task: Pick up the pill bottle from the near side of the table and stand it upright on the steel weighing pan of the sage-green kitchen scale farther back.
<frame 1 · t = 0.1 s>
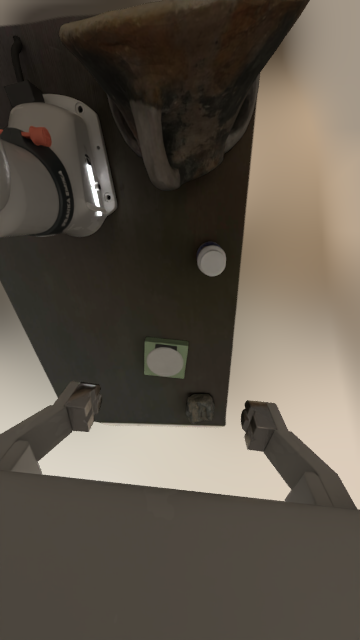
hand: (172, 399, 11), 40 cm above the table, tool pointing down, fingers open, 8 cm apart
scale: (166, 355, 59), on the table
bowl: (188, 165, 34), point 5 cm above the table
pill bottle: (209, 254, 45), on the table
rock: (198, 402, 68), on the table
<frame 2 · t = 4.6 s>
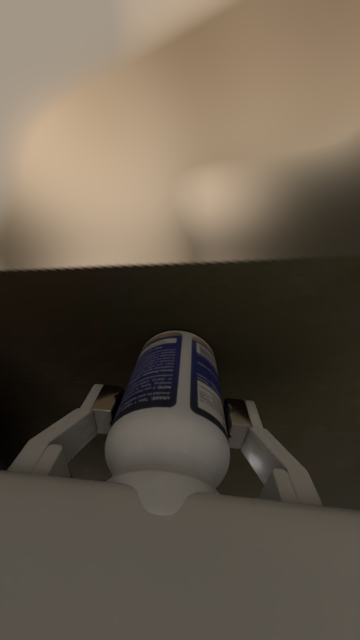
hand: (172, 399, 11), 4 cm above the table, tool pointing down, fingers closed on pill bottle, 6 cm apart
pill bottle: (178, 358, 16), on the table, touching gripper
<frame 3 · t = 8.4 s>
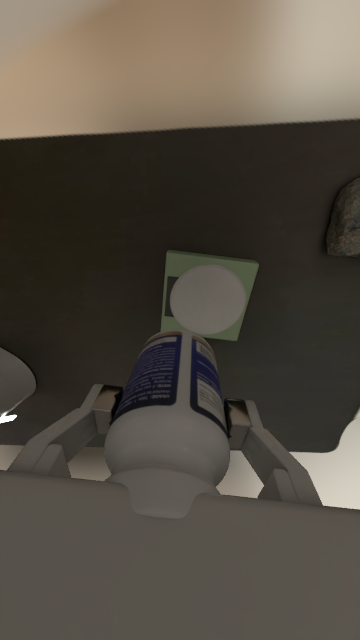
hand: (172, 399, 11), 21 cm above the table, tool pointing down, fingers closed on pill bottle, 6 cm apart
scale: (204, 295, 30), on the table
pill bottle: (178, 357, 15), point 16 cm above the table, touching gripper
when the fingers open (7 cm above the table, at t = 12.2 s): pill bottle stays where it is, resting on scale.
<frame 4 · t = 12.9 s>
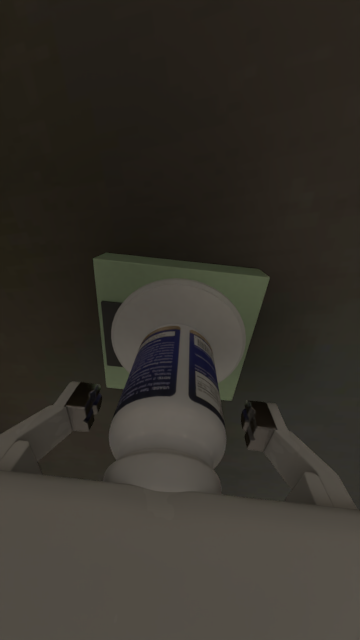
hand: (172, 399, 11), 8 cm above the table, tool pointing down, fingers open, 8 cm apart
scale: (176, 327, 18), on the table
pill bottle: (176, 351, 16), point 3 cm above the table, touching scale
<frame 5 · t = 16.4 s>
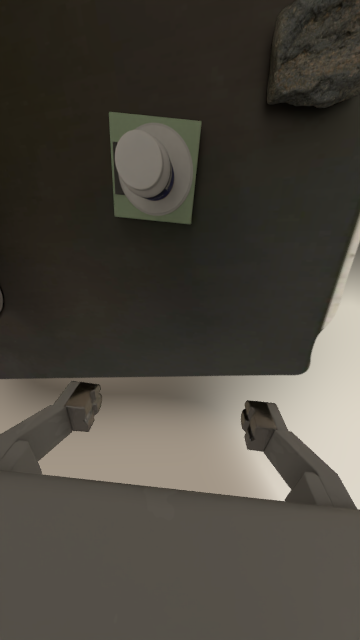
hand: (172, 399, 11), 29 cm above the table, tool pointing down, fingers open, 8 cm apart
scale: (156, 176, 30), on the table
pill bottle: (155, 178, 28), point 3 cm above the table, touching scale
rock: (308, 73, 25), on the table
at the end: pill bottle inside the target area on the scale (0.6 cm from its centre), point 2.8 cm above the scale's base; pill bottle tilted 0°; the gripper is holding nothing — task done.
